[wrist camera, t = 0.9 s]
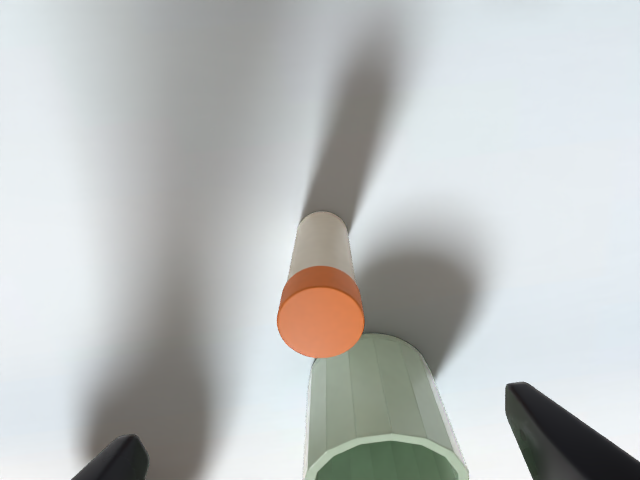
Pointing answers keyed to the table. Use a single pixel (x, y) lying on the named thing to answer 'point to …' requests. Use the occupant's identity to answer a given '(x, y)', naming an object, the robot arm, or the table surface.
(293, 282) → the glue stick
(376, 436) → the pen holder
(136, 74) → the table surface
